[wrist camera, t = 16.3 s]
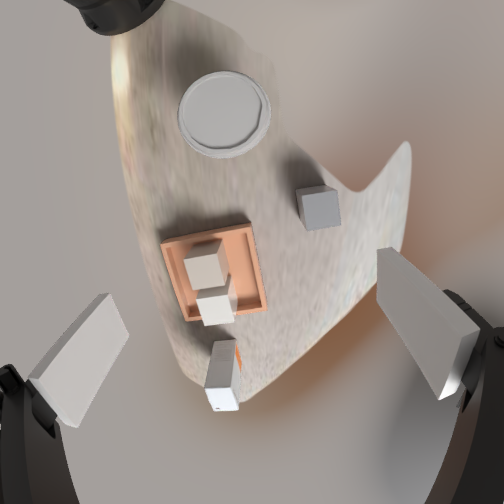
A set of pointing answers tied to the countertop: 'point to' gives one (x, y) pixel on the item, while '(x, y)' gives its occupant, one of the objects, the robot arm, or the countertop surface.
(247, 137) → the disposable coffee cup
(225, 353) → the skincare box
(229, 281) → the white block
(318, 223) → the grey rectangular block
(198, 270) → the beige rectangular block
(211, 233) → the dish
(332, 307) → the countertop surface
